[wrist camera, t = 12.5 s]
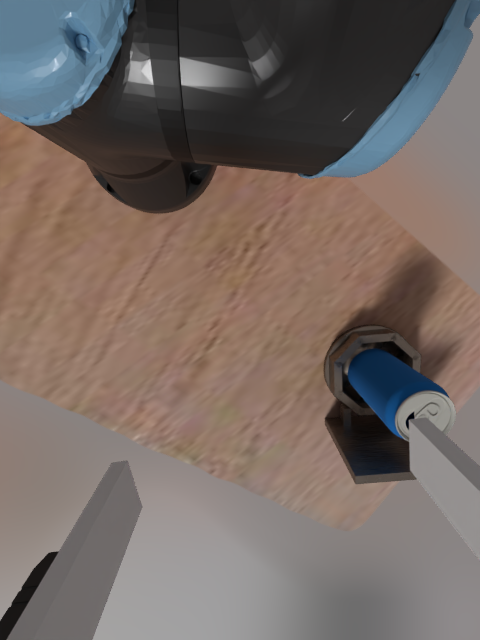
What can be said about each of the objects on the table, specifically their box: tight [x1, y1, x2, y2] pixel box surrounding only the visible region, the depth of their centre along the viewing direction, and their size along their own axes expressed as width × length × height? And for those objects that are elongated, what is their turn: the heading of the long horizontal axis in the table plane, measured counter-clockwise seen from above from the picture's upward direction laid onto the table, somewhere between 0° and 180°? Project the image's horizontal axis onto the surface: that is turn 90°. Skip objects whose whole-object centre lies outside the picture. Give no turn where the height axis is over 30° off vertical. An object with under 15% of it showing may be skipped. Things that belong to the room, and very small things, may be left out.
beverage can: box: [348, 348, 456, 442], centre depth 32 cm, size 6×6×12 cm
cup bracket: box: [324, 325, 421, 484], centre depth 34 cm, size 14×12×11 cm
